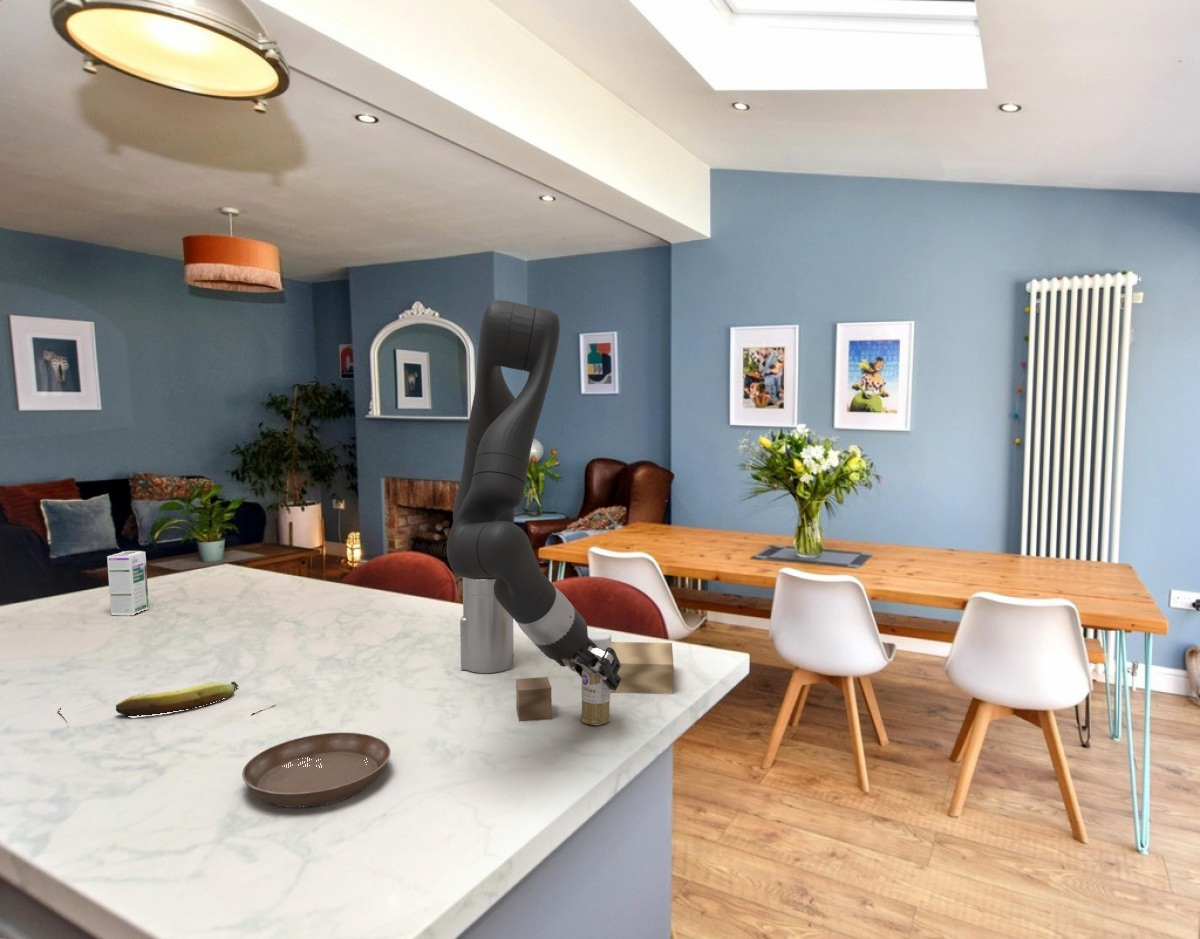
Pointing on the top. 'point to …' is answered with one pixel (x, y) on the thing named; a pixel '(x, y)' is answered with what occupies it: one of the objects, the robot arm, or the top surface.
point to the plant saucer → (316, 768)
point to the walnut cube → (533, 699)
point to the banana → (175, 699)
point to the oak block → (644, 667)
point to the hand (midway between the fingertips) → (603, 680)
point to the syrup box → (128, 582)
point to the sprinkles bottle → (596, 687)
